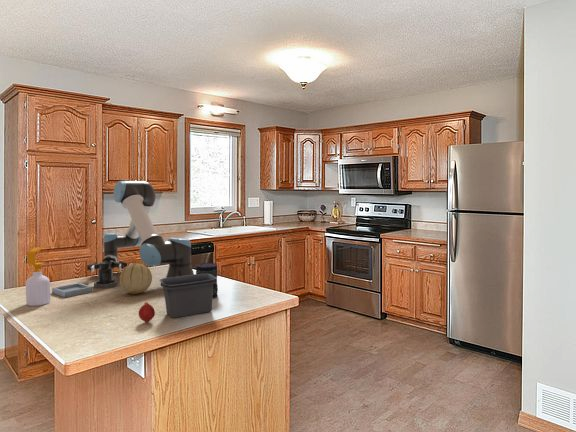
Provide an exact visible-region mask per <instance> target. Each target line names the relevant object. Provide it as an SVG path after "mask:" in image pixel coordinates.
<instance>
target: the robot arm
mask: <svg viewBox="0 0 576 432" xmlns="http://www.w3.org/2000/svg"><path fill="white" fill-rule="evenodd" d="M156 198H157V197H156V190H155V189H154V186H153V185H152V184H151V183H150V182H147V181H146V180H119V181H117V182H116V183H115V185H114V188H113V200H114V201H115V202H116V203H118V204H119V203H121V206H122V207H123V208H124V209H127V212H128V214H129V215H130V218H131V220H130V223H129V226H128V228H127V231H126V233H125V234H124V235H118V233H116V232H108V233H105V234H103V239H102V240H103V259H102V261H101V262H98V261H95V262H94V263H91V264H87V265H86V268H87V269H86V271H90V272H91V274H92V273H94V272H95V270H98V269H99V268H100V263H102V262H110V267H111V268H112V270H113V269H114V268H118V271H119V272H122V270H123V269H124V268H125V267H126V266H128V263H127V262H123V261H122V260H119V256H118V250H119V249H123V248H133V247H134V248H135V247H137V246H140V247H139V249H138V253H139V258H140V260H141V262H142V263H143V265H145V266H147V267H156V266H160V265H166V264H167V265H168V269H167V274H166V277H165V278H169V277H178V276H186V275H194V270H193V267H192V244H191V240H190V239H188V238H181V237H179V238H178V237H169V238H168V239H167V240H166V241H165V239H164V238H163V236H161V235H159V234H158V232H157V229H156V228H155V225H154V224H153V222H152V220H151V218H150V215H149V212H150V210H151V207H153V206H154V204H155V202H156Z"/></svg>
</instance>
